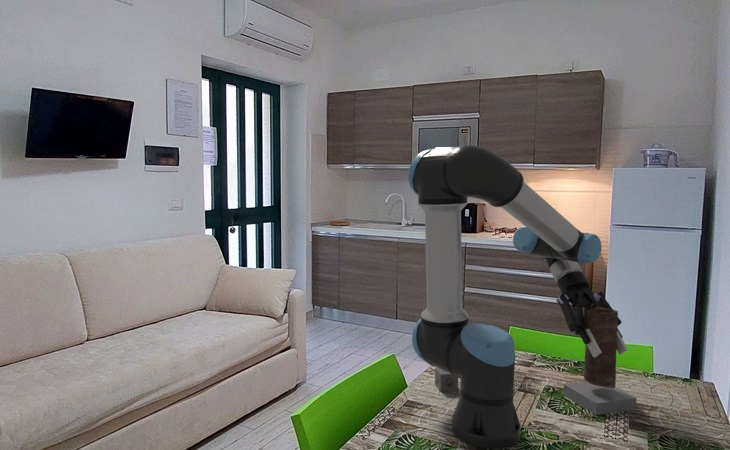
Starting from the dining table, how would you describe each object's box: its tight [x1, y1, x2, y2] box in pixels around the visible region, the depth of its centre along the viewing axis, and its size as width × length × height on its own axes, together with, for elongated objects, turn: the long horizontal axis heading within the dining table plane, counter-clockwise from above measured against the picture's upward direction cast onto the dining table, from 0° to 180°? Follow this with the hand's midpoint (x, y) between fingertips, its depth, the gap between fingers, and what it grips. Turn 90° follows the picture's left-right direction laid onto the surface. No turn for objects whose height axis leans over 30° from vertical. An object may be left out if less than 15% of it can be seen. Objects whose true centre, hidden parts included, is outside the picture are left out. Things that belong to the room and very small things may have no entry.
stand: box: [562, 380, 637, 416], centre depth 125 cm, size 12×12×3 cm
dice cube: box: [434, 367, 459, 393], centre depth 134 cm, size 5×5×5 cm
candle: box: [583, 307, 619, 388], centre depth 124 cm, size 8×7×20 cm
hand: (610, 353), depth 121 cm, fingers closed on candle, 7 cm apart
